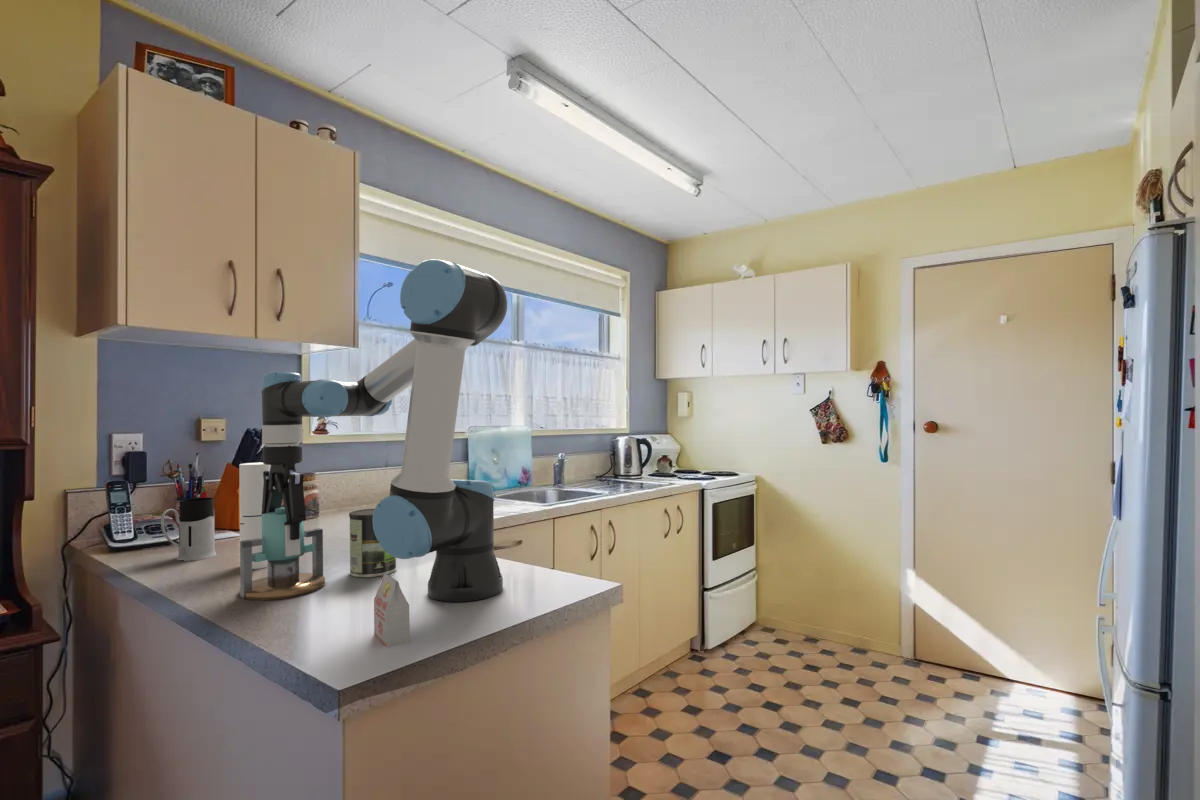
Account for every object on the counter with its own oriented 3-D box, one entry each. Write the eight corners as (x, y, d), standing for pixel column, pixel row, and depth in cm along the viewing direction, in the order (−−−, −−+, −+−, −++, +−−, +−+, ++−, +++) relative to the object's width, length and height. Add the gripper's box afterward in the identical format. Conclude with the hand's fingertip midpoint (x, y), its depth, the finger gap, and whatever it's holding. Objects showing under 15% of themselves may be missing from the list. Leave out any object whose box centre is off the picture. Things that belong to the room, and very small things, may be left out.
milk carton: (396, 630, 105) (395, 571, 105) (409, 641, 99) (409, 579, 99) (374, 635, 103) (373, 575, 103) (386, 647, 97) (385, 583, 97)
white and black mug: (224, 553, 164) (224, 497, 164) (175, 567, 150) (175, 505, 150) (198, 552, 166) (197, 496, 166) (147, 565, 152) (147, 504, 153)
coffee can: (404, 567, 147) (404, 508, 147) (381, 578, 137) (380, 515, 137) (366, 565, 149) (365, 507, 149) (340, 576, 139) (339, 514, 139)
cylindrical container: (259, 569, 146) (258, 464, 147) (232, 569, 148) (232, 464, 148) (279, 562, 153) (279, 462, 154) (254, 561, 155) (253, 462, 155)
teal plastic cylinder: (320, 552, 132) (320, 506, 133) (261, 564, 123) (261, 514, 123) (303, 548, 138) (302, 503, 138) (245, 558, 128) (244, 510, 128)
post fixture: (339, 586, 131) (339, 532, 132) (259, 605, 119) (258, 546, 119) (304, 574, 142) (303, 524, 142) (226, 591, 129) (226, 536, 129)
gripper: (323, 445, 127) (324, 555, 127) (279, 443, 140) (279, 542, 140) (286, 447, 121) (287, 563, 121) (243, 444, 134) (244, 549, 134)
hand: (283, 552), depth 130 cm, fingers closed on teal plastic cylinder, 8 cm apart
